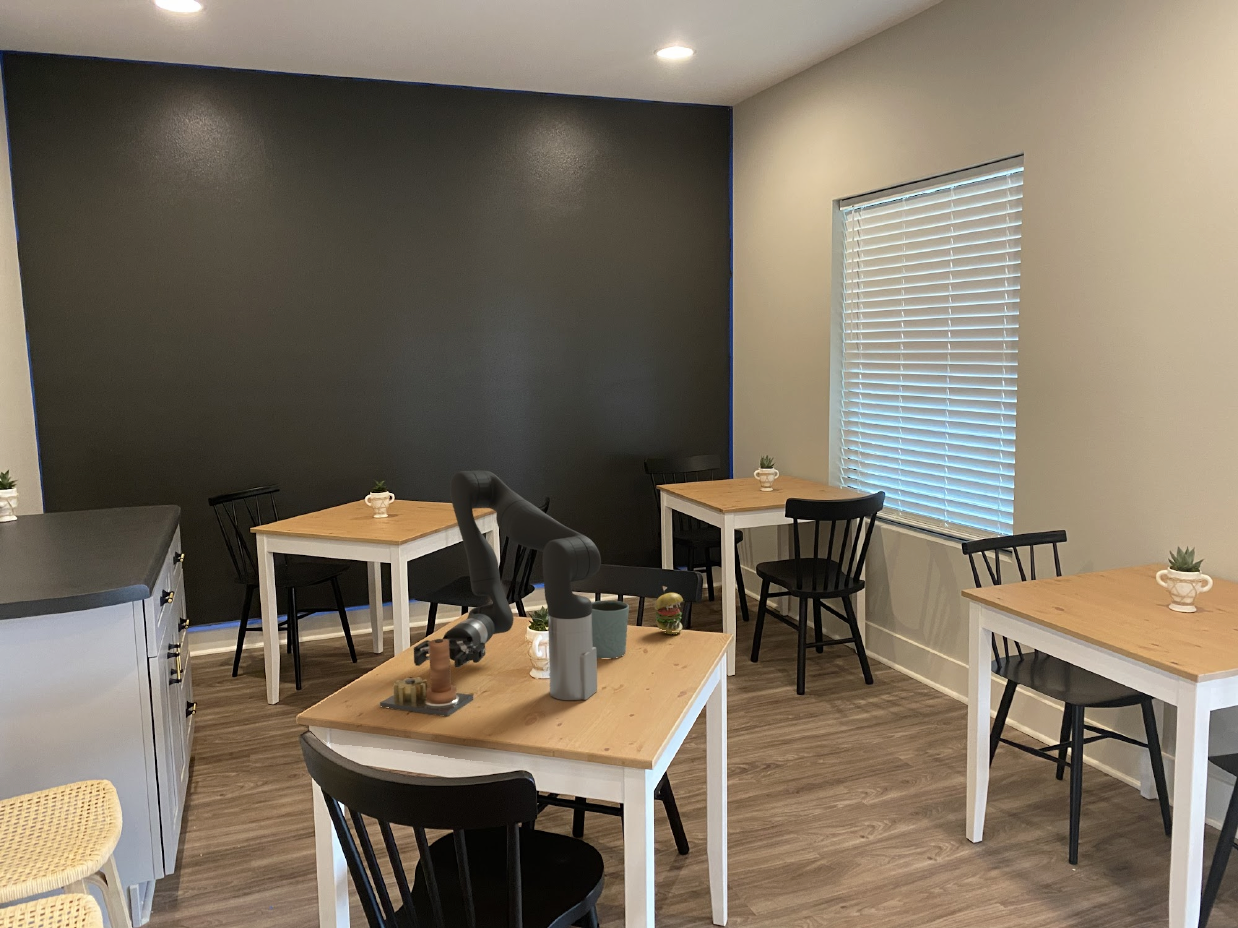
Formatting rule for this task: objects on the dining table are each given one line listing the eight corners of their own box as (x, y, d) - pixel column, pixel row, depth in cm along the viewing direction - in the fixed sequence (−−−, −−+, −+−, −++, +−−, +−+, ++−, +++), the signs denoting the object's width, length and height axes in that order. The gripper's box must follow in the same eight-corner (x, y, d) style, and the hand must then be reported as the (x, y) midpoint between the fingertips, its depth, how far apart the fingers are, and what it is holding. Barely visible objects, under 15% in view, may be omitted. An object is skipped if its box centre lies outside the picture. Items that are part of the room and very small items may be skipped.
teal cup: (589, 647, 225) (588, 600, 224) (630, 647, 225) (629, 599, 223) (586, 660, 215) (585, 610, 214) (629, 660, 214) (628, 610, 213)
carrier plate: (473, 699, 190) (473, 693, 190) (447, 716, 181) (447, 710, 181) (408, 691, 196) (408, 685, 196) (380, 707, 187) (380, 700, 187)
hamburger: (668, 638, 232) (668, 592, 231) (648, 632, 237) (648, 587, 236) (689, 632, 237) (688, 586, 236) (669, 626, 242) (668, 582, 241)
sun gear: (433, 692, 192) (433, 677, 191) (415, 703, 185) (414, 687, 185) (406, 689, 194) (405, 673, 194) (387, 700, 188) (386, 684, 188)
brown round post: (461, 695, 189) (459, 636, 188) (446, 705, 183) (443, 645, 182) (437, 692, 191) (434, 634, 190) (420, 702, 185) (417, 642, 184)
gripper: (434, 621, 201) (402, 642, 185) (495, 623, 198) (469, 645, 183) (435, 654, 202) (404, 678, 186) (496, 657, 199) (470, 681, 183)
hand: (436, 662), depth 184 cm, fingers open, 8 cm apart
